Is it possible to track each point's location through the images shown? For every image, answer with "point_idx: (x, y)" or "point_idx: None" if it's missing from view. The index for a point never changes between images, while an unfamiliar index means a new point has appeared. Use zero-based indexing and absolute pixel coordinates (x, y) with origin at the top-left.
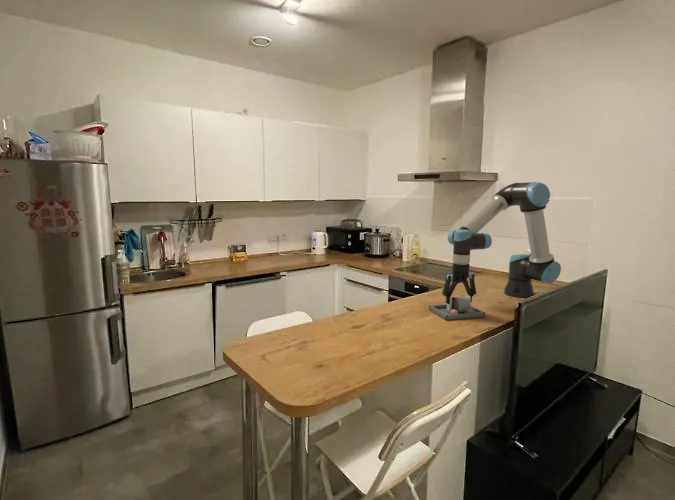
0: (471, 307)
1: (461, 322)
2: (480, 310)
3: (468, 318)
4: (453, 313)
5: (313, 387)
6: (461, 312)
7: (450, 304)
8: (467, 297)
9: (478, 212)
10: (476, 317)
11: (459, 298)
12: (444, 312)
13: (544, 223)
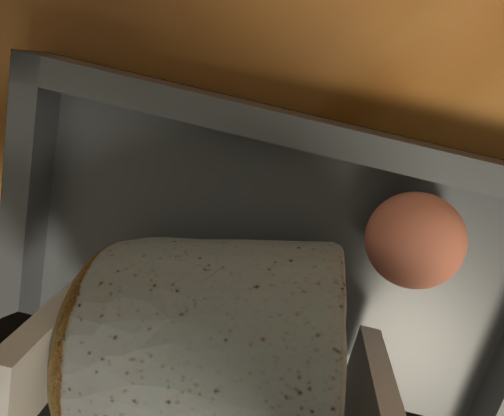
0: (23, 306)
1: (475, 32)
2: (8, 154)
3: (273, 106)
4: (459, 215)
5: None
6: None
7: (393, 384)
8: (27, 394)
9: None
10: (162, 80)
11: (255, 390)
12: (396, 370)
13: None
